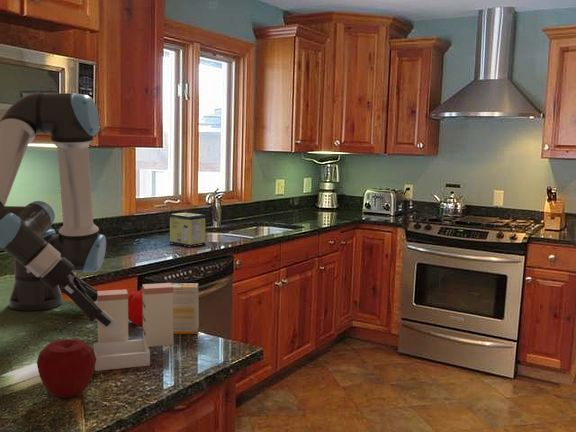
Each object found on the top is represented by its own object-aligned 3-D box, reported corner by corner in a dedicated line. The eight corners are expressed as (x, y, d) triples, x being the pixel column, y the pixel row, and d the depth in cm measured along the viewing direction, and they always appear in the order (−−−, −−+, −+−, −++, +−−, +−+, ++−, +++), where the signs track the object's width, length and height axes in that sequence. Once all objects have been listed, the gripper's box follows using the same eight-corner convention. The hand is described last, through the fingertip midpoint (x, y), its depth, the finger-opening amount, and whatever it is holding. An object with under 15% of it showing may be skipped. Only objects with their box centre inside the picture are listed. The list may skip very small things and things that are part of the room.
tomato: (130, 317, 169) (130, 282, 168) (173, 318, 169) (174, 284, 167) (118, 329, 158) (117, 292, 157) (164, 330, 158) (164, 294, 156)
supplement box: (199, 329, 160) (199, 282, 158) (196, 334, 155) (197, 287, 153) (169, 328, 159) (169, 282, 158) (165, 334, 155) (165, 286, 153)
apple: (25, 401, 113) (24, 343, 112) (64, 380, 123) (63, 327, 122) (70, 411, 109) (69, 351, 108) (107, 389, 119) (106, 334, 118)
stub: (98, 345, 145) (97, 291, 143) (127, 343, 147) (126, 289, 146) (98, 351, 141) (97, 295, 139) (128, 348, 143) (127, 293, 141)
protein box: (183, 241, 302) (184, 212, 300) (205, 245, 293) (206, 214, 291) (169, 244, 293) (169, 213, 292) (191, 247, 285) (191, 216, 283)
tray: (93, 356, 138) (93, 343, 137) (145, 351, 142) (145, 339, 141) (94, 370, 129) (94, 357, 128) (149, 365, 133) (149, 352, 132)
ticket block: (142, 341, 149) (142, 284, 147) (170, 338, 151) (170, 282, 149) (144, 347, 144) (144, 288, 143) (173, 344, 147) (173, 287, 145)
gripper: (42, 267, 148) (104, 320, 155) (35, 291, 124) (108, 351, 131) (63, 246, 149) (124, 299, 156) (61, 266, 126) (132, 327, 132)
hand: (117, 323), depth 144 cm, fingers open, 13 cm apart
